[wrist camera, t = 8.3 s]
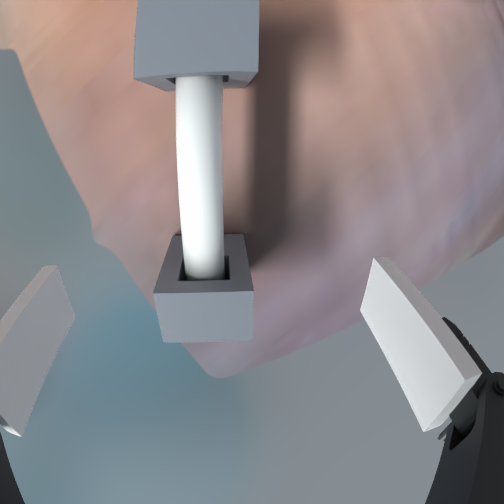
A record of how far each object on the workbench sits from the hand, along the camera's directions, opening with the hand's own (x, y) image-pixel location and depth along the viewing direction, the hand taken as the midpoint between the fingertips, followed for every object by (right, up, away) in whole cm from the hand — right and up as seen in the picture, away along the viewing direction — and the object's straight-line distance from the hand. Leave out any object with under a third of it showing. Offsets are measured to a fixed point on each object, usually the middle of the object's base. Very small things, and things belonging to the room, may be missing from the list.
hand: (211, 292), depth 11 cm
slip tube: (-3, +9, +16) cm, 19 cm away
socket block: (-4, +1, +27) cm, 28 cm away
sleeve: (-4, +23, +16) cm, 29 cm away
